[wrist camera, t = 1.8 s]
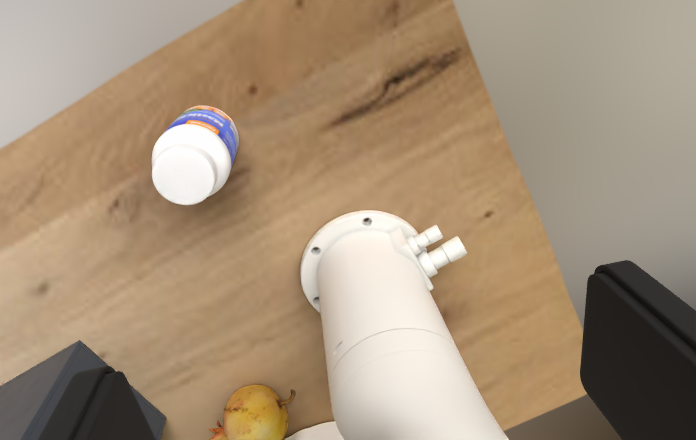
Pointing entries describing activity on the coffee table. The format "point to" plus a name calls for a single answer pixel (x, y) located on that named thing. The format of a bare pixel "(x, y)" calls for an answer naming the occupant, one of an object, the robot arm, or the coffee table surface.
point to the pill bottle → (194, 155)
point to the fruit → (254, 415)
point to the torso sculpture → (318, 433)
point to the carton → (53, 394)
